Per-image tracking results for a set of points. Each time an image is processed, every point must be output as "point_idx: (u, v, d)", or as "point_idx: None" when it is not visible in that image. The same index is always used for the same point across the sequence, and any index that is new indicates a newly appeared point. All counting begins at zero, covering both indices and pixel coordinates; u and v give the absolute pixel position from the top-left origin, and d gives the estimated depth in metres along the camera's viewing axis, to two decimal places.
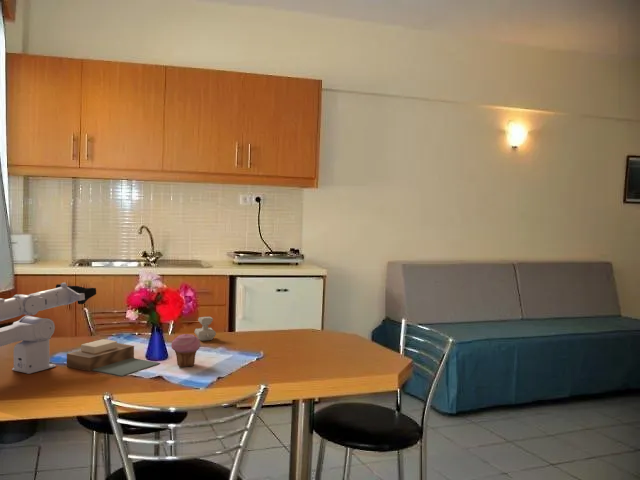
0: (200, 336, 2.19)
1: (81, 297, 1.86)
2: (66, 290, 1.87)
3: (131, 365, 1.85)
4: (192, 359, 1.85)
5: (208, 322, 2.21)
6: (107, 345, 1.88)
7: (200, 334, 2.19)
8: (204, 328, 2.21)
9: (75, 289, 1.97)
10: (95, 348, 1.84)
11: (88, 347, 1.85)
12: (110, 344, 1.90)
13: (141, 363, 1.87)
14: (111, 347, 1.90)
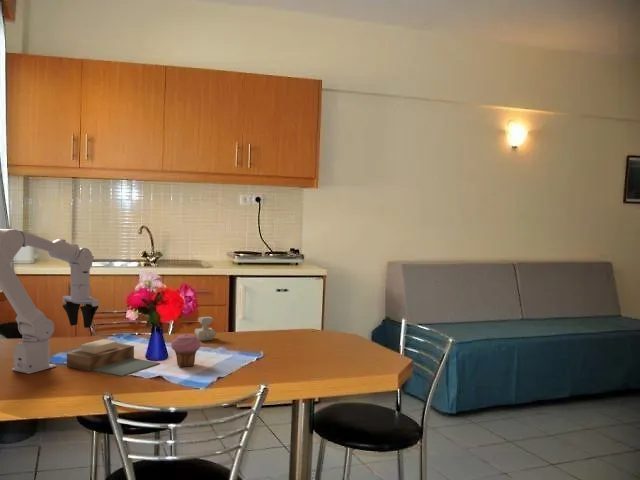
0: (200, 336, 2.19)
1: (96, 302, 1.89)
2: (89, 296, 1.93)
3: (131, 365, 1.85)
4: (192, 359, 1.85)
5: (208, 322, 2.21)
6: (107, 345, 1.88)
7: (200, 334, 2.19)
8: (204, 328, 2.21)
9: (74, 320, 1.94)
10: (95, 348, 1.84)
11: (88, 347, 1.85)
12: (110, 344, 1.90)
13: (141, 363, 1.87)
14: (111, 347, 1.90)
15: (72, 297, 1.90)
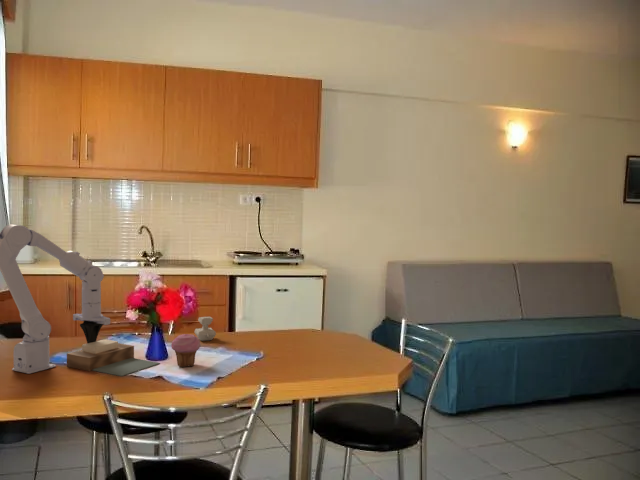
0: (200, 336, 2.19)
1: (107, 320, 1.87)
2: (100, 314, 1.91)
3: (131, 365, 1.85)
4: (192, 359, 1.85)
5: (208, 322, 2.21)
6: (108, 345, 1.88)
7: (200, 334, 2.19)
8: (204, 328, 2.21)
9: None
10: (96, 348, 1.84)
11: (89, 347, 1.85)
12: (111, 344, 1.89)
13: (141, 363, 1.87)
14: (112, 347, 1.90)
15: (83, 315, 1.88)
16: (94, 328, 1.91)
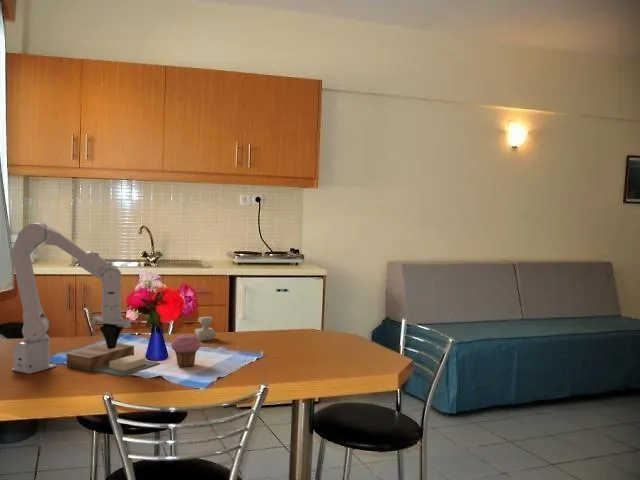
0: (200, 336, 2.19)
1: (128, 323, 1.83)
2: (121, 317, 1.87)
3: None
4: (192, 359, 1.85)
5: (208, 322, 2.21)
6: None
7: (200, 334, 2.19)
8: (204, 328, 2.21)
9: None
10: None
11: (115, 367, 1.80)
12: None
13: None
14: None
15: (103, 318, 1.84)
16: (114, 331, 1.87)
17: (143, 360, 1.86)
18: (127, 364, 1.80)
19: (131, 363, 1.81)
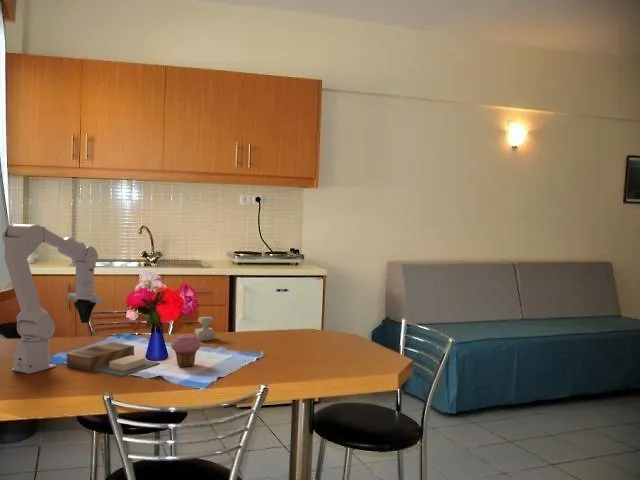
0: (200, 336, 2.19)
1: (100, 299, 1.95)
2: None
3: None
4: (192, 359, 1.85)
5: (208, 322, 2.21)
6: None
7: (200, 334, 2.19)
8: (204, 328, 2.21)
9: None
10: None
11: (115, 367, 1.80)
12: None
13: None
14: None
15: (77, 294, 1.96)
16: (88, 306, 1.99)
17: (143, 360, 1.86)
18: (127, 364, 1.80)
19: (131, 363, 1.81)
